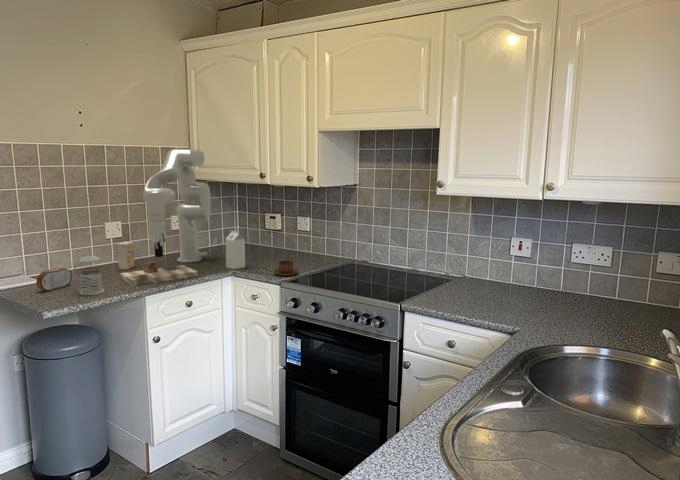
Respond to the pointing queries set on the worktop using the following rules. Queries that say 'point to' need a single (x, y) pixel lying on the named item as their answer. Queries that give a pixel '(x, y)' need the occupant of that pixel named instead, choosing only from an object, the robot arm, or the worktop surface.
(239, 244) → the milk carton
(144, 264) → the walnut block
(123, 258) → the supplement box
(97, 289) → the french press
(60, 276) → the brown grey rounded block
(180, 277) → the trap board
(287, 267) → the cup and saucer
